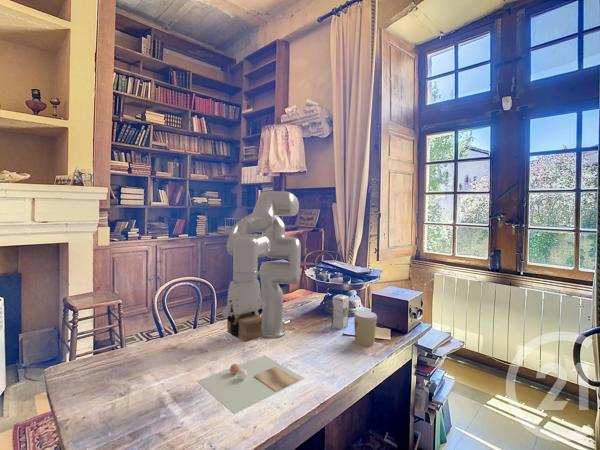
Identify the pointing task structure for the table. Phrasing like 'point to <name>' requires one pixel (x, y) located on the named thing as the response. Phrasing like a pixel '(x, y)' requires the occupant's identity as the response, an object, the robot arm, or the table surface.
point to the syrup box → (340, 311)
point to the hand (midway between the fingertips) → (244, 332)
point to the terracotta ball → (234, 369)
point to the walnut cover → (247, 327)
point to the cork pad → (276, 378)
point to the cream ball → (242, 374)
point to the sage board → (243, 384)
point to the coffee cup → (365, 327)
